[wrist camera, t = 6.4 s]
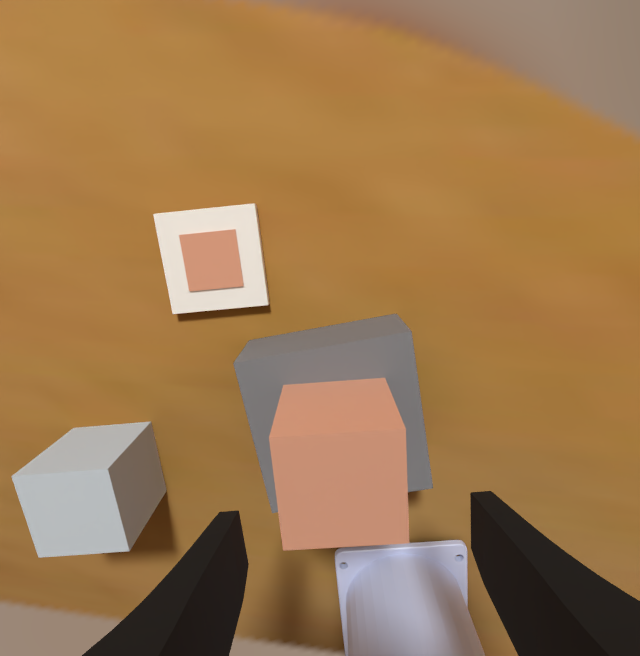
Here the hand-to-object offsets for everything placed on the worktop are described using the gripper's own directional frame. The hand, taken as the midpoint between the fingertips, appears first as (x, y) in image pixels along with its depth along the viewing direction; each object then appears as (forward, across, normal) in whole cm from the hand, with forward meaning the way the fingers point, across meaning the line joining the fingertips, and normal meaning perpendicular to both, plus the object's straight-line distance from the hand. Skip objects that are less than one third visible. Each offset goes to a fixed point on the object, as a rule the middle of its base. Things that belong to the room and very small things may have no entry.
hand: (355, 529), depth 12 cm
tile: (+10, +6, -8) cm, 14 cm away
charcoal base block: (+10, 0, 0) cm, 10 cm away
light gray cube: (+10, +13, +3) cm, 17 cm away
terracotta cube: (+6, 0, 0) cm, 6 cm away
